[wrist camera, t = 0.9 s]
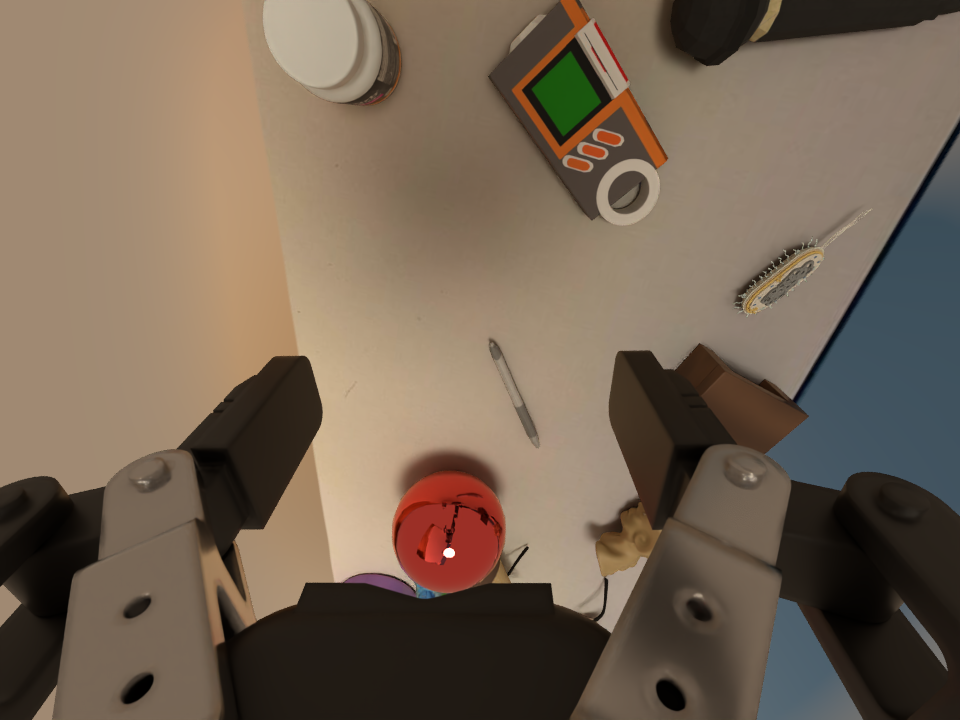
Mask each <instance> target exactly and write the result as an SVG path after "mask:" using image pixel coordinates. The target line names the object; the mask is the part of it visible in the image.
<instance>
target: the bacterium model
mask: <svg viewBox="0 0 960 720" xmlns="http://www.w3.org/2000/svg"><path fill="white" fill-rule="evenodd" d="M872 209H873V208H872ZM872 209H871V210H872ZM869 211H870V210H869ZM869 211H868V212H869ZM864 212H865V211H864ZM864 212H863V213H864ZM868 212H867V213H868ZM863 213H862V214H863ZM867 213H866V214H867ZM862 214H861V215H862ZM866 214H865V215H866ZM865 215H864V216H865ZM864 216H863V217H864ZM859 217H860V215H859V216H858V217H857V218H856V219H855V220H857V219H858V218H859ZM863 217H862V218H863ZM860 219H861V218H860ZM860 219H859V220H860ZM855 220H854V221H855ZM859 220H858V221H859ZM854 221H853V222H854ZM858 221H857V222H858ZM853 222H852V223H853ZM852 223H850V224H849V225H848V227H847V226H846V227H847V228H849V227H850V226H852V225H854V224H855V223H856V222H855V223H854V224H852ZM851 224H852V225H851ZM846 227H844V228H845V229H844V228H843V229H844V230H843V229H841V230H842V231H841V230H840V231H839V233H840V234H841V233H842V232H843V231H845V230H846V229H847V228H846ZM837 233H838V232H837ZM837 233H836V234H835V235H834V237H835V236H836V235H837ZM839 233H838V234H839ZM840 234H839V235H840ZM839 235H838V236H839ZM838 236H836V237H838ZM836 237H835V238H836ZM832 238H833V237H831V238H830V239H829V240H828V241H830V240H831V239H832ZM835 238H834V239H835ZM811 239H812V240H813V236H812V238H811ZM834 239H833V240H834ZM812 240H811V241H812ZM833 240H832V241H833ZM811 241H810V242H811ZM828 241H827V242H828ZM832 241H831V242H832ZM810 242H809V244H810ZM816 242H817V243H818V241H817V239H816ZM827 242H826V243H827ZM831 242H830V243H831ZM817 243H816V244H817ZM826 243H825V244H826ZM830 243H829V244H830ZM802 244H803V246H804V243H803V242H802ZM809 244H808V248H804V249H803V246H802V250H797V252H796V250H794V249H793V250H794V251H795V253H794V254H792V255H791V256H790V257H789V256H788V255H786V250H784V249H783V251H785V256H788V258H787V259H786V260H785V261H783V262H781V258H779V257H778V258H779V259H780V263H781V264H780V265H778V266H777V267H774V262H772V261H771V263H773V267H774V269H773V270H772V269H770V268H768V269H769V270H771V271H770V272H769V273H768V274H767V275H766V272H764V271H763V272H764V273H765V276H764V277H762V276H759V277H761V278H762V279H761V280H759V281H758V282H757V283H756V281H754V280H752V281H754V282H755V283H756V284H755V283H754V285H753V286H750V287H751V288H749V290H747V292H746V293H744V294H743V296H744V297H743V296H742V295H740V296H742V298H743V300H742V302H740V303H742V306H741V307H742V309H743V310H741V311H739V312H742V311H744V312H745V313H747V316H748V315H749V314H752V313H754V314H756V315H757V313H756V312H759V311H761V310H763V309H765V308H767V307H768V306H769V307H770V308H772V307H771V304H773V303H774V302H775V303H777V302H776V301H777V300H778V299H781V297H782V296H784V295H785V294H786V295H787V296H789V295H788V291H790V290H791V289H792V290H793V291H794V289H793V288H794V287H795V286H796V285H800V284H799V283H800V282H801V281H803V280H804V279H805V282H807V280H806V278H807V277H808V276H809V275H812V274H811V273H812V272H813V271H814V270H815V269H816V268H817V267H818V266H820V265H819V264H820V263H821V261H822V259H825V258H823V256H824V250H823V248H824V247H823V246H824V245H825V244H824V245H823V246H821V247H820V248H819V247H809ZM816 244H815V246H816ZM829 244H827V245H829ZM827 245H826V246H827ZM826 246H825V247H826ZM822 247H823V248H822ZM735 303H738V302H735ZM735 303H734V304H735ZM741 307H737V308H741ZM735 308H736V307H735ZM732 309H734V308H732ZM739 312H738V313H739ZM738 313H737V314H738ZM747 316H746V318H747Z"/></svg>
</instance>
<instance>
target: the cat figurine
mask: <svg viewBox="0 0 960 720" xmlns="http://www.w3.org/2000/svg"><path fill="white" fill-rule="evenodd" d="M621 522H622V525H623V530H622V532H621V533H618V532H613V531H612V532H605V533H603V534H602V535H601V538H600V540H599V541H597V542H596V555H597V559H598V562H599V566H600V571H601V574H602V576H607V575H612V574H614V573H615V572H617V571H618V570H620V571H624V570H626V569H628V568H629V567H634V566H635V565H636V564H637V561H638V560H639V558H640V556H641V557H646V558H647V559H648V558H649V556H650V554H651V551H652V549H653V547H654V545H655V543H656V541H657V539H658V537H659V535H660V533H661V531H662V530H652V528H651V525H650V523H649V520H648V518H647V515H646V513H645V510H644V507H643V505H642V503H641V502H639V503H638V507H637V508H630V510H627V511H624V512H622V514H621Z"/></svg>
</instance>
